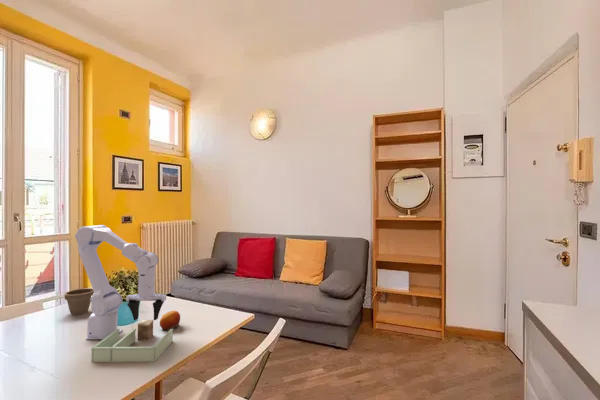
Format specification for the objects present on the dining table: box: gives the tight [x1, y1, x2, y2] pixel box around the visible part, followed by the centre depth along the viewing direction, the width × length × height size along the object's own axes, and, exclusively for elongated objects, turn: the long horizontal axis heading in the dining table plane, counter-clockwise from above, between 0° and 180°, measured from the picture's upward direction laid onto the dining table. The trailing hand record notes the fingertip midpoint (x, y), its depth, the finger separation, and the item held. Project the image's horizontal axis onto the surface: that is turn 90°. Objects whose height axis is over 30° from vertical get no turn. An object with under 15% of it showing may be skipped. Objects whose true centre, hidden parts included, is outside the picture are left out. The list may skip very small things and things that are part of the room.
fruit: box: [159, 310, 181, 331], centre depth 123 cm, size 8×8×8 cm
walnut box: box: [137, 319, 154, 341], centre depth 114 cm, size 4×4×6 cm
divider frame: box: [91, 328, 174, 363], centre depth 103 cm, size 21×15×4 cm
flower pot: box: [64, 287, 94, 316], centre depth 138 cm, size 12×11×10 cm
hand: (145, 319), depth 114 cm, fingers open, 7 cm apart
